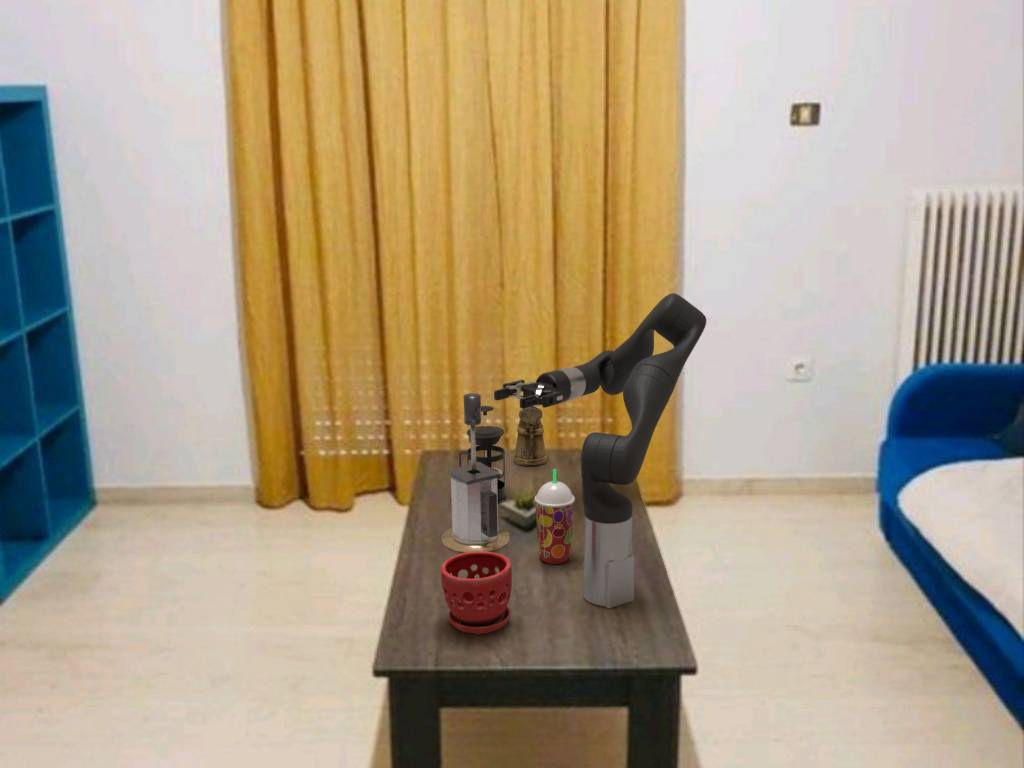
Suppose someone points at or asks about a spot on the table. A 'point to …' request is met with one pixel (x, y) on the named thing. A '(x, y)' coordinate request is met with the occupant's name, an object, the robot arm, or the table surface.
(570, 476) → the table surface
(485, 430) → the french press
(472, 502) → the press carafe
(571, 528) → the smoothie
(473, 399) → the plunger
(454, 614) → the plant pot
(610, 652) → the table surface
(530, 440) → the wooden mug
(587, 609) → the table surface
